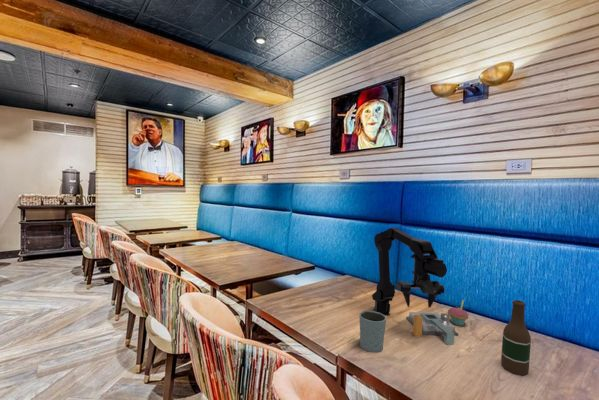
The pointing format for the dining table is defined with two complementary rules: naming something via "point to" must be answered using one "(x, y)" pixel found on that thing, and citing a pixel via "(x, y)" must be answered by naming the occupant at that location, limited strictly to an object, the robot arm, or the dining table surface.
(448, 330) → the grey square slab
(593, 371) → the dining table surface
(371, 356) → the dining table surface
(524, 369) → the beer bottle
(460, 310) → the cupcake
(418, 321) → the orange upright bar
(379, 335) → the grey cup
